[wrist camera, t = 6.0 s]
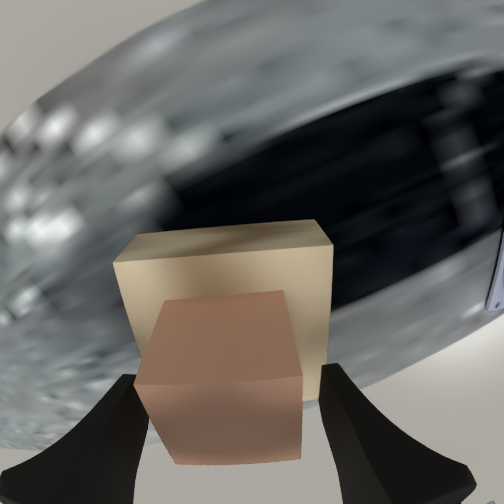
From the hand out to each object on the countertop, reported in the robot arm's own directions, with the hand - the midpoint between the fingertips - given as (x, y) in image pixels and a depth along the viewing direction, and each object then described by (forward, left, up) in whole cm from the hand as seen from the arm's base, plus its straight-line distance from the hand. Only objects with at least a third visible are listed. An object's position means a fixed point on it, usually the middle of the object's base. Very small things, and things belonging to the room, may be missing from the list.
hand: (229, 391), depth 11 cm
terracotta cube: (0, 0, -3) cm, 3 cm away
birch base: (0, 0, -6) cm, 6 cm away
